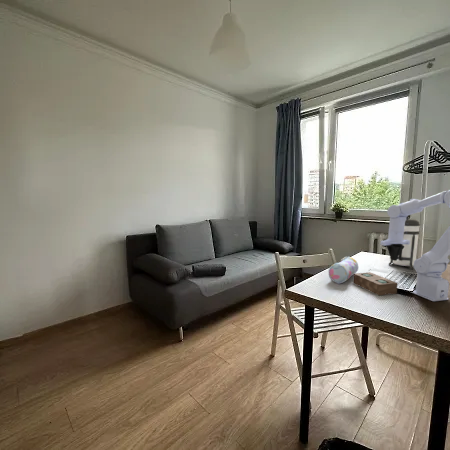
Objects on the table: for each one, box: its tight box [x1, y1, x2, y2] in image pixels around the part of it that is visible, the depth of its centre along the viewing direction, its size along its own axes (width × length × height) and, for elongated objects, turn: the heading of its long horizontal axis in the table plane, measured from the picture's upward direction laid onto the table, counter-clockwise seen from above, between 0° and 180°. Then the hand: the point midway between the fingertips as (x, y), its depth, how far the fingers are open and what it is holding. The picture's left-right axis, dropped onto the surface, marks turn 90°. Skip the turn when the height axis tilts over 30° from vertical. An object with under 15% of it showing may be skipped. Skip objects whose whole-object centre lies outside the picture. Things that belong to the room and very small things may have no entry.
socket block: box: [352, 271, 398, 296], centre depth 104 cm, size 14×9×4 cm, turn 12°
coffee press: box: [388, 215, 421, 271], centre depth 134 cm, size 17×16×30 cm
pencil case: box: [328, 256, 359, 284], centre depth 116 cm, size 21×9×10 cm, turn 138°
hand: (393, 259), depth 111 cm, fingers closed
